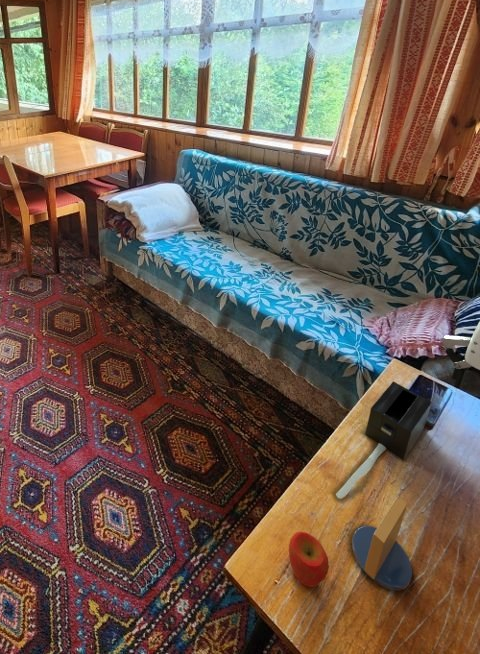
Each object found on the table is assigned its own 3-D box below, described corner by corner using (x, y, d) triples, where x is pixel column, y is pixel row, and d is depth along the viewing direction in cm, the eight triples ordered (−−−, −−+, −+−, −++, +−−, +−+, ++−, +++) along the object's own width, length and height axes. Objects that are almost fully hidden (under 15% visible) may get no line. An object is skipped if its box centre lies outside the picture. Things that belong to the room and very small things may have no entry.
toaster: (386, 407, 96) (393, 381, 93) (423, 429, 90) (431, 402, 87) (363, 437, 90) (369, 409, 86) (401, 463, 83) (409, 435, 80)
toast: (386, 531, 71) (397, 496, 67) (396, 539, 69) (407, 503, 66) (363, 570, 66) (373, 533, 62) (373, 579, 64) (384, 543, 61)
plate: (402, 540, 70) (403, 536, 70) (418, 601, 62) (419, 597, 62) (348, 522, 74) (349, 518, 73) (356, 577, 66) (357, 573, 65)
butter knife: (407, 433, 89) (393, 424, 91) (346, 505, 76) (332, 492, 79) (406, 435, 89) (392, 425, 92) (345, 507, 76) (331, 493, 79)
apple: (330, 575, 66) (336, 550, 64) (314, 606, 63) (319, 581, 60) (296, 543, 71) (300, 519, 68) (279, 570, 67) (283, 545, 65)
